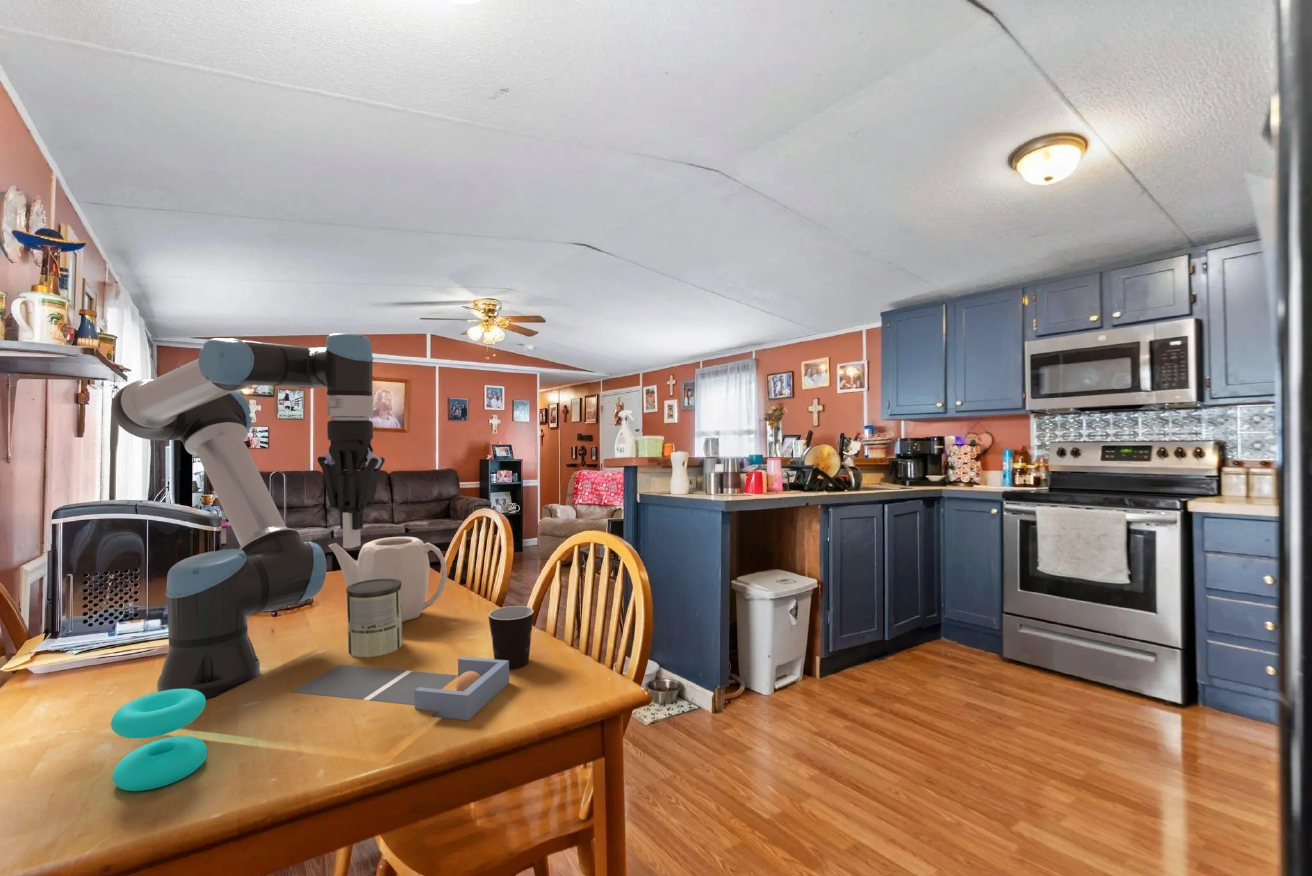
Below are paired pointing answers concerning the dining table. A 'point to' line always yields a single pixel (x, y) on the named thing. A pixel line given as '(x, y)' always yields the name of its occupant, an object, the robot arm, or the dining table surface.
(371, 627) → the coffee can
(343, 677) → the runway
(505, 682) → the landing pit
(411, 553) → the white teapot
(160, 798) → the dining table surface
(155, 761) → the donuts
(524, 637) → the coffee mug
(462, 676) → the ball
